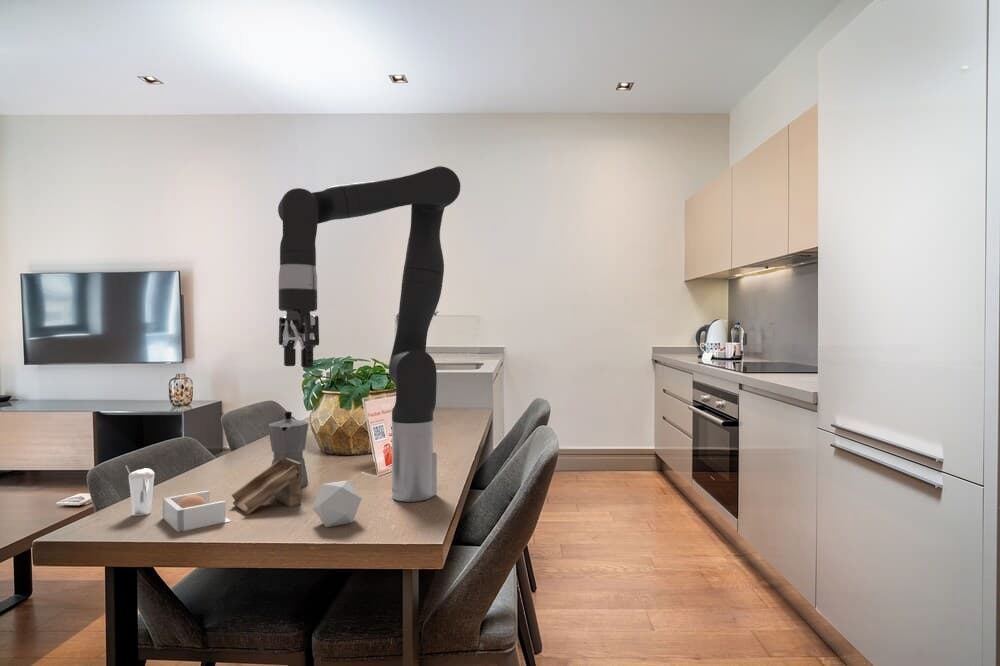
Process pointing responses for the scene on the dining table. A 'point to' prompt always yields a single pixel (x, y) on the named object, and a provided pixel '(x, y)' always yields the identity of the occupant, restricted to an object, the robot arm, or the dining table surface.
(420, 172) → the robot arm
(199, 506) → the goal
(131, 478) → the milkshake
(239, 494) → the ramp
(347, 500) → the die
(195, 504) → the ball
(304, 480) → the coffeepot
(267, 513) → the dining table surface
